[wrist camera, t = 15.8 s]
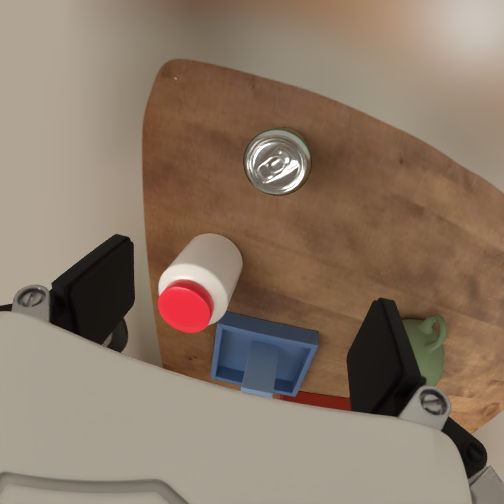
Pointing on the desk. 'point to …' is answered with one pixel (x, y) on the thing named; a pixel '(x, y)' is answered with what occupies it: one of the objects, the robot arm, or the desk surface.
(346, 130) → the desk surface
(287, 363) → the blue tray
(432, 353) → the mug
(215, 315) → the pill bottle
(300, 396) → the red tray
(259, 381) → the blue block
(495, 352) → the desk surface
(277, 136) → the soda can
